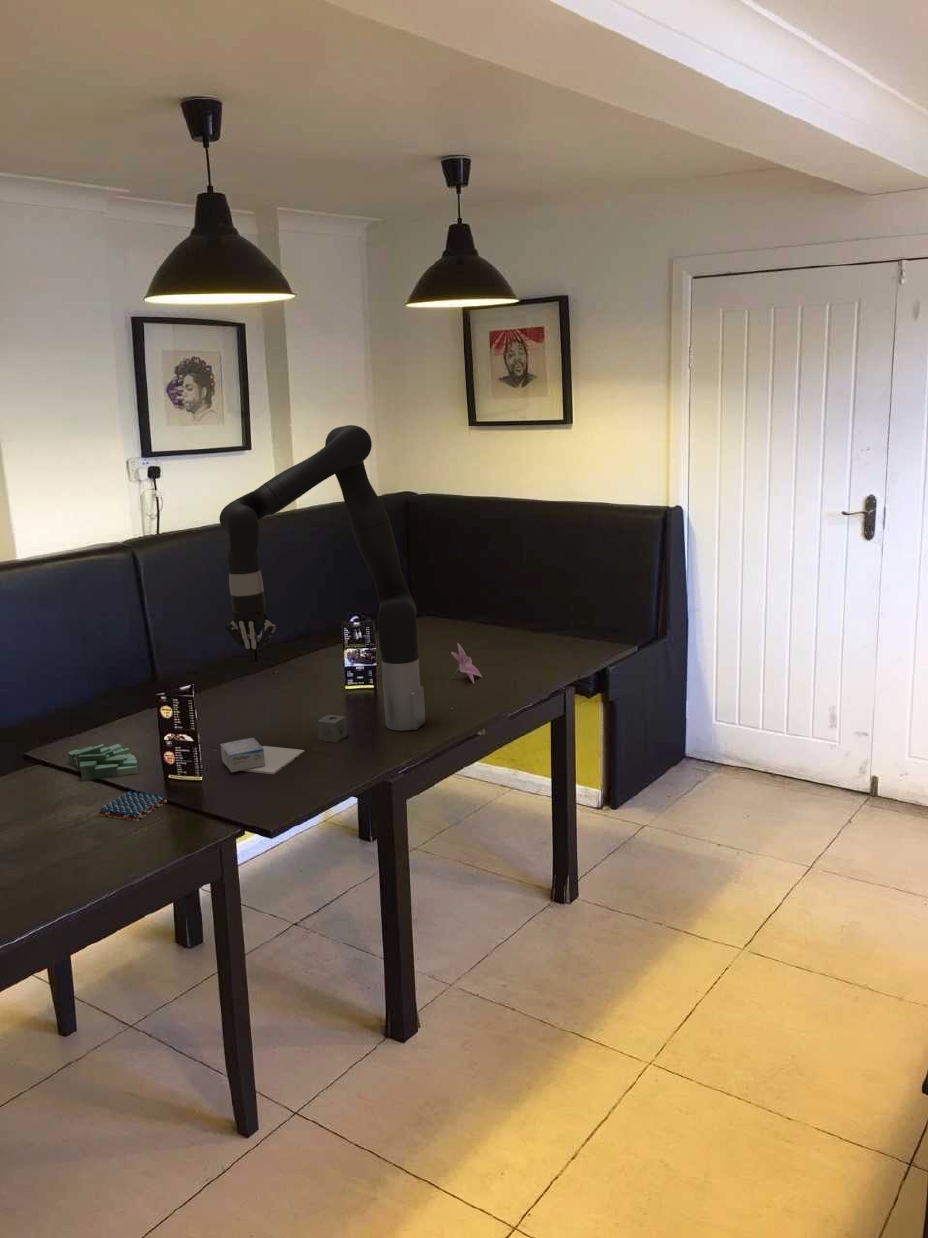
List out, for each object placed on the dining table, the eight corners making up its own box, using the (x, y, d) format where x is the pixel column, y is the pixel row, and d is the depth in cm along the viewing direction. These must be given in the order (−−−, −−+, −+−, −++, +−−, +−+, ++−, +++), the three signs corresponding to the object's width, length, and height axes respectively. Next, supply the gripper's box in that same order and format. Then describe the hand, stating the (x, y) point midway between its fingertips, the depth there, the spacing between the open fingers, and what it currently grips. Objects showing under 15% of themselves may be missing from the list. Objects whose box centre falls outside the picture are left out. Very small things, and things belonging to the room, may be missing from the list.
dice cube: (347, 735, 254) (345, 716, 253) (336, 742, 250) (335, 723, 249) (329, 733, 256) (328, 714, 255) (318, 740, 252) (317, 721, 251)
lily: (455, 692, 287) (471, 663, 284) (428, 669, 293) (444, 641, 291) (481, 694, 296) (497, 666, 294) (454, 672, 303) (470, 644, 300)
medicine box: (221, 761, 240) (231, 773, 232) (219, 743, 239) (229, 755, 231) (255, 754, 243) (265, 766, 235) (253, 736, 242) (263, 748, 234)
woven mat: (96, 818, 214) (94, 809, 214) (129, 798, 224) (128, 789, 223) (137, 824, 210) (136, 815, 210) (169, 803, 220) (168, 794, 219)
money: (53, 770, 242) (50, 750, 240) (115, 749, 253) (113, 730, 252) (98, 790, 229) (96, 769, 228) (162, 766, 241) (159, 747, 239)
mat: (304, 752, 244) (304, 750, 244) (273, 774, 232) (273, 772, 232) (264, 747, 248) (263, 745, 248) (231, 769, 236) (231, 767, 236)
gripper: (280, 587, 239) (288, 659, 243) (230, 586, 243) (239, 657, 247) (264, 594, 232) (272, 669, 236) (213, 594, 236) (222, 667, 240)
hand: (255, 663), depth 242 cm, fingers closed
